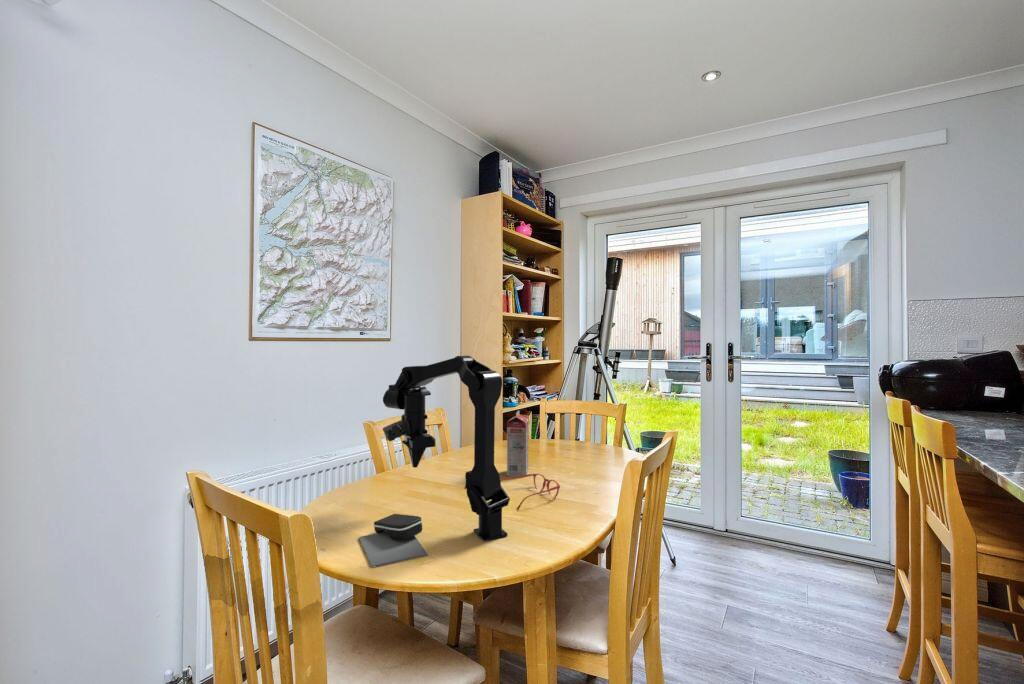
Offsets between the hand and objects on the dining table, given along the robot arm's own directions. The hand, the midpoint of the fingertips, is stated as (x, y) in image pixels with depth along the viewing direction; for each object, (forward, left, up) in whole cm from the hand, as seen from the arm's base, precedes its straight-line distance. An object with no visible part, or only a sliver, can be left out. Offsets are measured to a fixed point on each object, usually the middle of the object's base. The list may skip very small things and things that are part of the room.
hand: (414, 467), depth 131 cm
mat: (-20, +11, -12) cm, 26 cm away
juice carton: (+18, -42, -12) cm, 47 cm away
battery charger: (-10, +11, -11) cm, 18 cm away
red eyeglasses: (-4, -33, -13) cm, 36 cm away
